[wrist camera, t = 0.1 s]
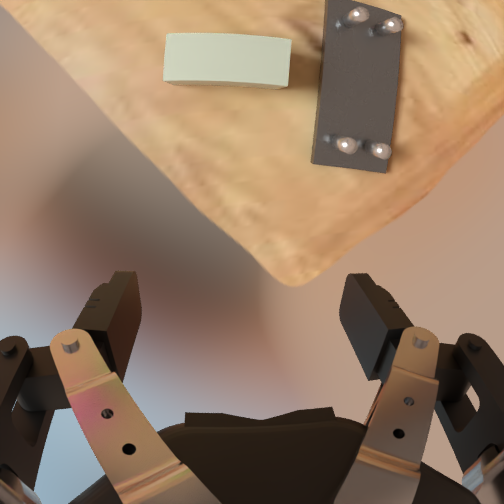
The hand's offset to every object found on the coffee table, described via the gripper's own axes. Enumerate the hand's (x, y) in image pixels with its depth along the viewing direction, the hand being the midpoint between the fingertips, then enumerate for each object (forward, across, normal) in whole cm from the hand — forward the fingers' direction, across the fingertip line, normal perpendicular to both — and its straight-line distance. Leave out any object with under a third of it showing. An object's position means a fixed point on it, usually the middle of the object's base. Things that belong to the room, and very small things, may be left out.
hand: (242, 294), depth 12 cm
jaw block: (+29, +1, -12) cm, 31 cm away
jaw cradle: (+28, -15, -11) cm, 34 cm away
